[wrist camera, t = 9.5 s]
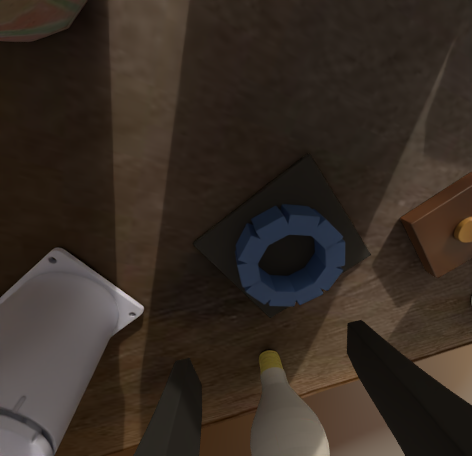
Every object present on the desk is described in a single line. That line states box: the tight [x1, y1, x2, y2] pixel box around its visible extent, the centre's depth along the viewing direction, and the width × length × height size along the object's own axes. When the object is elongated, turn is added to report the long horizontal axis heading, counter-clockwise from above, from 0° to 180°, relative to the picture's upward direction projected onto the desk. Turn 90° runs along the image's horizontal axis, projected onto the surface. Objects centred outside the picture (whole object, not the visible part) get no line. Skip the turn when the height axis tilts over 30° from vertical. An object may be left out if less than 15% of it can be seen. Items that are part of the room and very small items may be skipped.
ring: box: [235, 204, 345, 307], centre depth 17 cm, size 7×8×2 cm
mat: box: [193, 154, 371, 318], centre depth 18 cm, size 10×10×1 cm
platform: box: [400, 172, 472, 278], centre depth 17 cm, size 7×7×2 cm
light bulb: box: [250, 350, 330, 456], centre depth 18 cm, size 6×6×10 cm
